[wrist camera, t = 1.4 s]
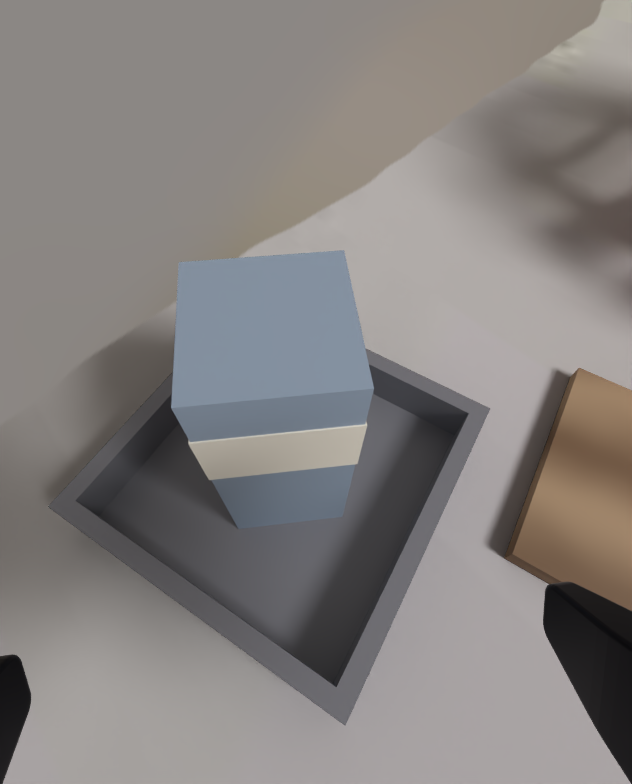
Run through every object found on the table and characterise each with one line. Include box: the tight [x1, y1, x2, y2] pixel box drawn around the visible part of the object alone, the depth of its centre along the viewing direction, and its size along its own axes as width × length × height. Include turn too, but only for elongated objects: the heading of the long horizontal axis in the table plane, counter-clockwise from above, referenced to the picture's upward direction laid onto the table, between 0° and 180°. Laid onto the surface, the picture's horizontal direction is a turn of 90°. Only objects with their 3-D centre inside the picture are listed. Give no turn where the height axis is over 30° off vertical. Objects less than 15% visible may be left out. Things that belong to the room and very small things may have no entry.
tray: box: [48, 348, 490, 725], centre depth 22 cm, size 15×15×3 cm
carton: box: [171, 250, 374, 529], centre depth 17 cm, size 5×5×12 cm
